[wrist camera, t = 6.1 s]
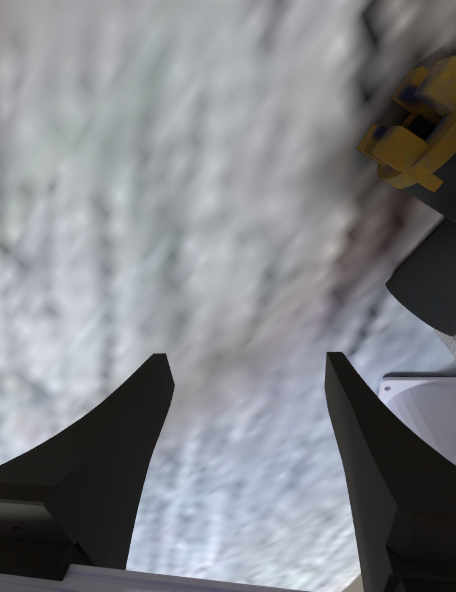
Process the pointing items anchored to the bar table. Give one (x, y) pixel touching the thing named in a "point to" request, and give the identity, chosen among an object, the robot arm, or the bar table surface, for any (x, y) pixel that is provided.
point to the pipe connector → (424, 187)
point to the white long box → (448, 341)
